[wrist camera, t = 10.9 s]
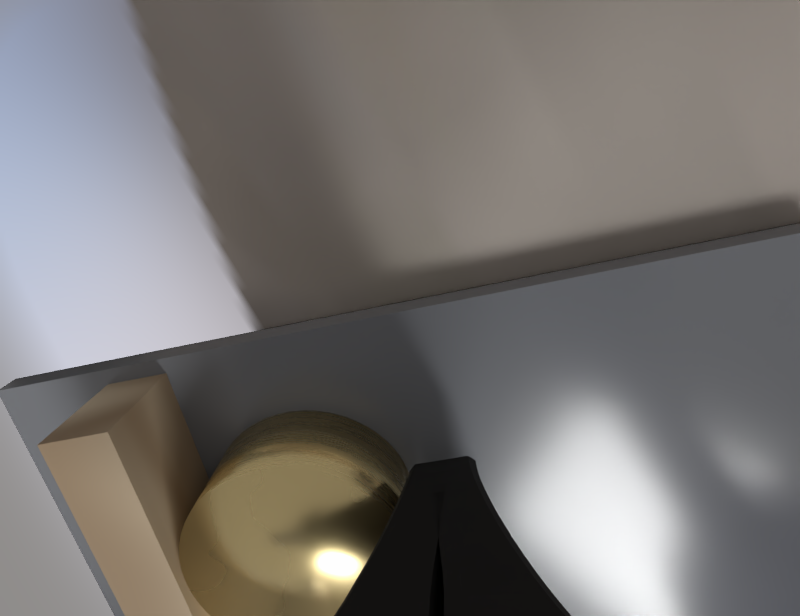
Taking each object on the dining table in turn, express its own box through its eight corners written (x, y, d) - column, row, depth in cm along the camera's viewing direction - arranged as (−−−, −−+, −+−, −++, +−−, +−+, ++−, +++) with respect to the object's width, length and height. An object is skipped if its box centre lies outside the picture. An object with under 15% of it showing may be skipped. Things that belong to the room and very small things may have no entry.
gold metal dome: (391, 395, 10) (384, 452, 8) (431, 562, 11) (431, 640, 10) (189, 427, 11) (145, 487, 9) (249, 585, 12) (220, 663, 10)
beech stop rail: (166, 373, 10) (108, 431, 8) (267, 625, 12) (239, 718, 10) (107, 384, 10) (36, 444, 9) (218, 632, 12) (180, 724, 11)
